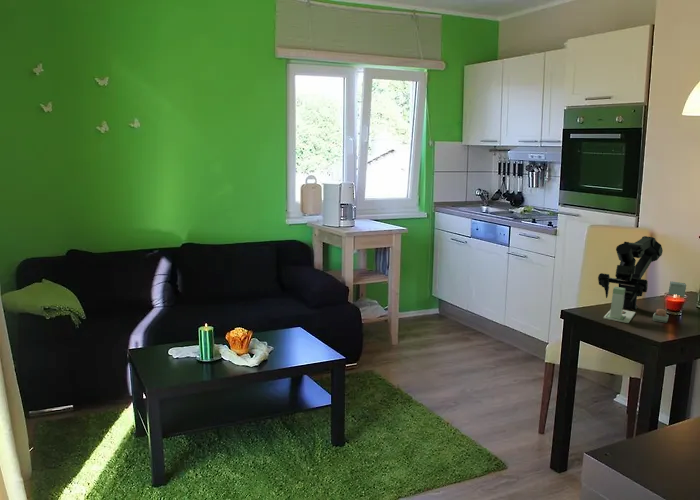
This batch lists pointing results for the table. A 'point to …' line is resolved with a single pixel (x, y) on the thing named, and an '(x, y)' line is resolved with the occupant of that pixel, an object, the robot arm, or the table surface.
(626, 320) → the picture board
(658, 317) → the button housing
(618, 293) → the pale green tall box
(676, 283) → the skincare box
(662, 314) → the button
